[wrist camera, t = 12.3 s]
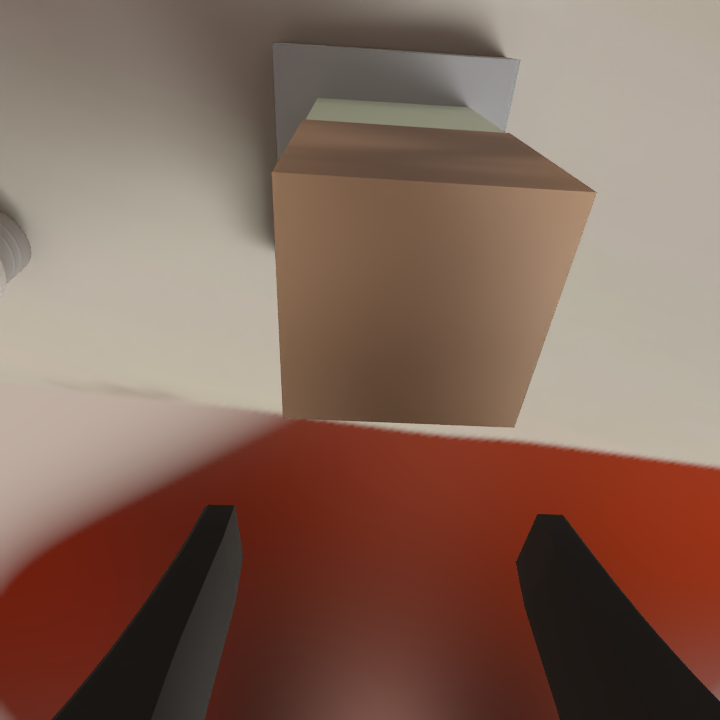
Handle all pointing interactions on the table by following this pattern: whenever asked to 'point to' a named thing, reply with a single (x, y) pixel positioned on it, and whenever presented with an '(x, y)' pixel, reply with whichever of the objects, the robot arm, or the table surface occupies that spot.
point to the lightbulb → (12, 250)
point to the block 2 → (417, 271)
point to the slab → (386, 81)
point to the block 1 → (400, 114)
